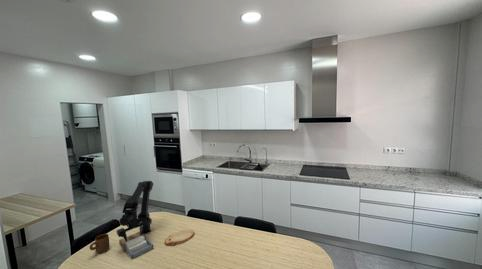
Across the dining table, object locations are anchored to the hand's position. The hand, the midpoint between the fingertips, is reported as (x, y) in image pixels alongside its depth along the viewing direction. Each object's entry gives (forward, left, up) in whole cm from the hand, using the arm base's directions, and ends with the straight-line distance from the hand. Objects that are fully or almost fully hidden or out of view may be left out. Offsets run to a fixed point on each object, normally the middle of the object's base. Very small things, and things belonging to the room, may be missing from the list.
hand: (133, 239), depth 135 cm
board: (-1, -3, -4) cm, 5 cm away
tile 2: (0, +5, -4) cm, 6 cm away
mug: (+18, -9, -4) cm, 21 cm away
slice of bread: (-25, +18, -5) cm, 31 cm away
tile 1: (0, +3, -1) cm, 3 cm away
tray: (-1, +9, -4) cm, 10 cm away
